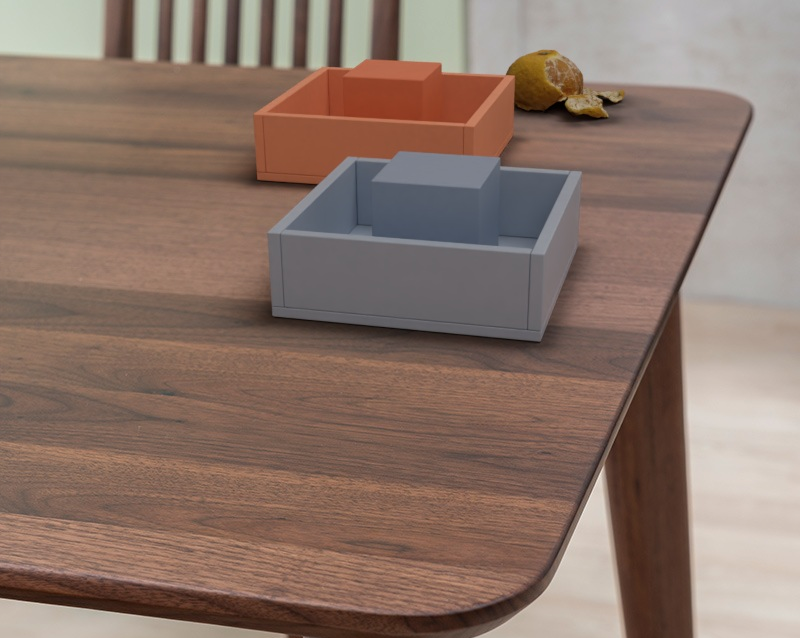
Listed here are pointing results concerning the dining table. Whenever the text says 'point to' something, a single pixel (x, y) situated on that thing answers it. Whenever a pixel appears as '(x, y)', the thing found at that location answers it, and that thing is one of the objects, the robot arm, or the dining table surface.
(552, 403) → the dining table surface
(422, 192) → the slate block
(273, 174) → the terracotta bin
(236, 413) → the dining table surface
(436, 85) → the terracotta block
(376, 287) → the slate bin
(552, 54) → the fruit
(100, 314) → the dining table surface
